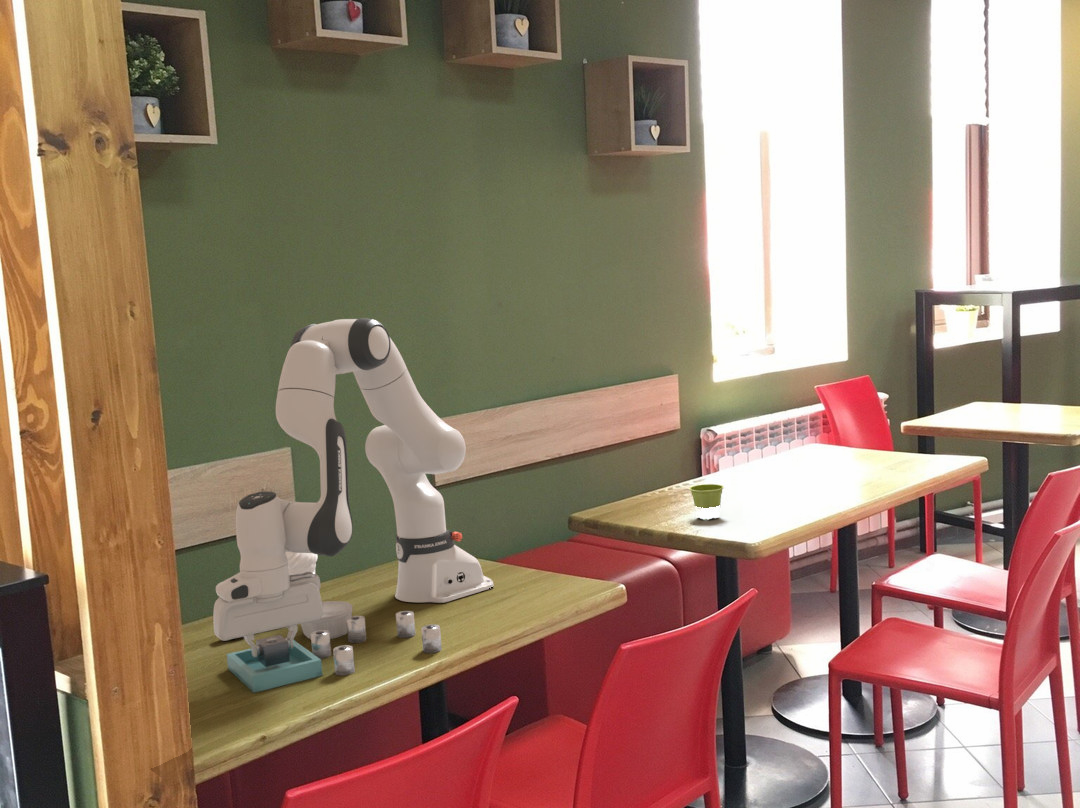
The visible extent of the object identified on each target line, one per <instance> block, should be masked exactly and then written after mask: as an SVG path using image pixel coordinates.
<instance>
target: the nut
mask: <svg viewBox="0 0 1080 808" xmlns="http://www.w3.org/2000/svg"><path fill="white" fill-rule="evenodd" d="M285 638H286V637H284V636H282V635H281V634H277V635H273V636H268V637H264V638H259V639H256V640H255V643H256V644H255V645H260V646H261V648H262V651H261V652H262V656H258V661H259V662H260V663H261V664H263V665H264V666H265V667H268V666H273V665H277V664H281V663H285V662H289V661H290V659H289V649H288V640H286V639H285Z"/></svg>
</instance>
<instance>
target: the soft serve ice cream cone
mask: <svg viewBox="0 0 1080 808" xmlns="http://www.w3.org/2000/svg"><path fill="white" fill-rule="evenodd" d="M286 556H287V559H288V565H289V575H294V574H302V573H305V572H312V573H315V574H316V568H317V564H316V563H317V562H318V557H319V556H318V554H313V553H294V552H286ZM312 576H314V575H312Z"/></svg>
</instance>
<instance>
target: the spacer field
mask: <svg viewBox="0 0 1080 808" xmlns="http://www.w3.org/2000/svg"><path fill="white" fill-rule="evenodd" d="M395 619H396V620H395V622H396V631H397V632H396V633H397V637H398V638H400V639H408V638H412V637H414V636H415V635H416V624H415V614H414V611H412V610H402V611H398V612H396V613H395ZM420 630H421V643H422V651H423V653H427V654H434V653H438V652H441V651H442V636H441V627H440V625H439V624H426V625H423V626H422V627H421V629H420ZM347 631H348V633H347V640H348V643H349V644H350V643H351V644H358V643H362V642H364V643H365V642H366V640H367V632H366V619H365V616H363V615H353V616H352V617H349V618H347ZM310 640H311V641H310V642H311V653H312V654H314V655H315V656H317V657H318V658H319V659H321V660H322V659H326V658H329V657H331V656H332V652H333V662H334V663H333V664H334V672H335V673H334V674H335V675H337V676H348V675H351V674H353V673H355V671H356V669H355V667H356V666H355V659H354V658H355V657H354V649H353V648H354V646H353V645H349V644H348V645H347V644H345V645H343V644H342V645H339V646H335V647H334V648H332V645H331V639H330V633H329V631H327V630H319V631H315V632H312V633H311V639H310ZM332 649H333V650H332Z"/></svg>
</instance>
